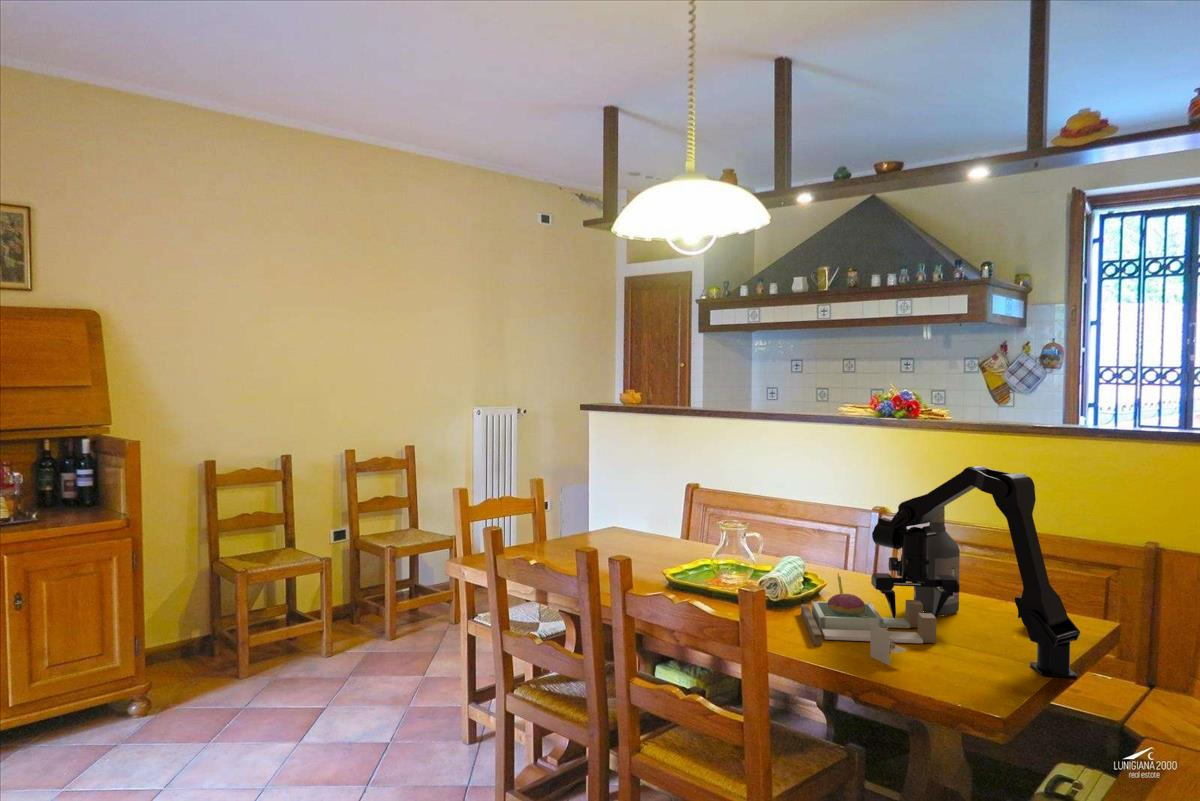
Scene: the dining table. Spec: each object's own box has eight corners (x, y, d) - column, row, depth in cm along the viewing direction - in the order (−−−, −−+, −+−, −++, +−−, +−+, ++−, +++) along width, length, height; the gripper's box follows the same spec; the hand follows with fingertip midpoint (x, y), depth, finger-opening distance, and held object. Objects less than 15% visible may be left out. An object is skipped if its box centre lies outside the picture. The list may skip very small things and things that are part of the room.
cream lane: (937, 643, 171) (937, 619, 171) (824, 639, 174) (825, 615, 174) (930, 636, 176) (930, 612, 176) (821, 632, 179) (821, 608, 179)
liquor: (963, 611, 196) (965, 493, 195) (941, 617, 191) (942, 496, 190) (931, 603, 203) (932, 488, 202) (908, 608, 198) (910, 491, 198)
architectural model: (882, 656, 166) (882, 621, 166) (906, 667, 159) (906, 631, 159) (869, 658, 165) (869, 623, 164) (892, 669, 158) (893, 633, 158)
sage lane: (928, 634, 177) (929, 610, 177) (819, 630, 181) (819, 606, 180) (912, 616, 191) (913, 594, 191) (811, 612, 194) (811, 590, 194)
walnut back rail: (821, 645, 171) (821, 635, 171) (814, 645, 171) (814, 634, 171) (807, 614, 194) (807, 604, 194) (800, 613, 194) (801, 604, 194)
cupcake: (824, 626, 184) (824, 575, 184) (831, 616, 192) (832, 568, 192) (862, 631, 180) (862, 580, 180) (867, 621, 188) (868, 572, 188)
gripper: (945, 546, 191) (944, 610, 191) (866, 544, 193) (866, 607, 193) (960, 557, 179) (959, 624, 180) (876, 555, 182) (876, 621, 182)
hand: (914, 618), depth 184 cm, fingers open, 9 cm apart
